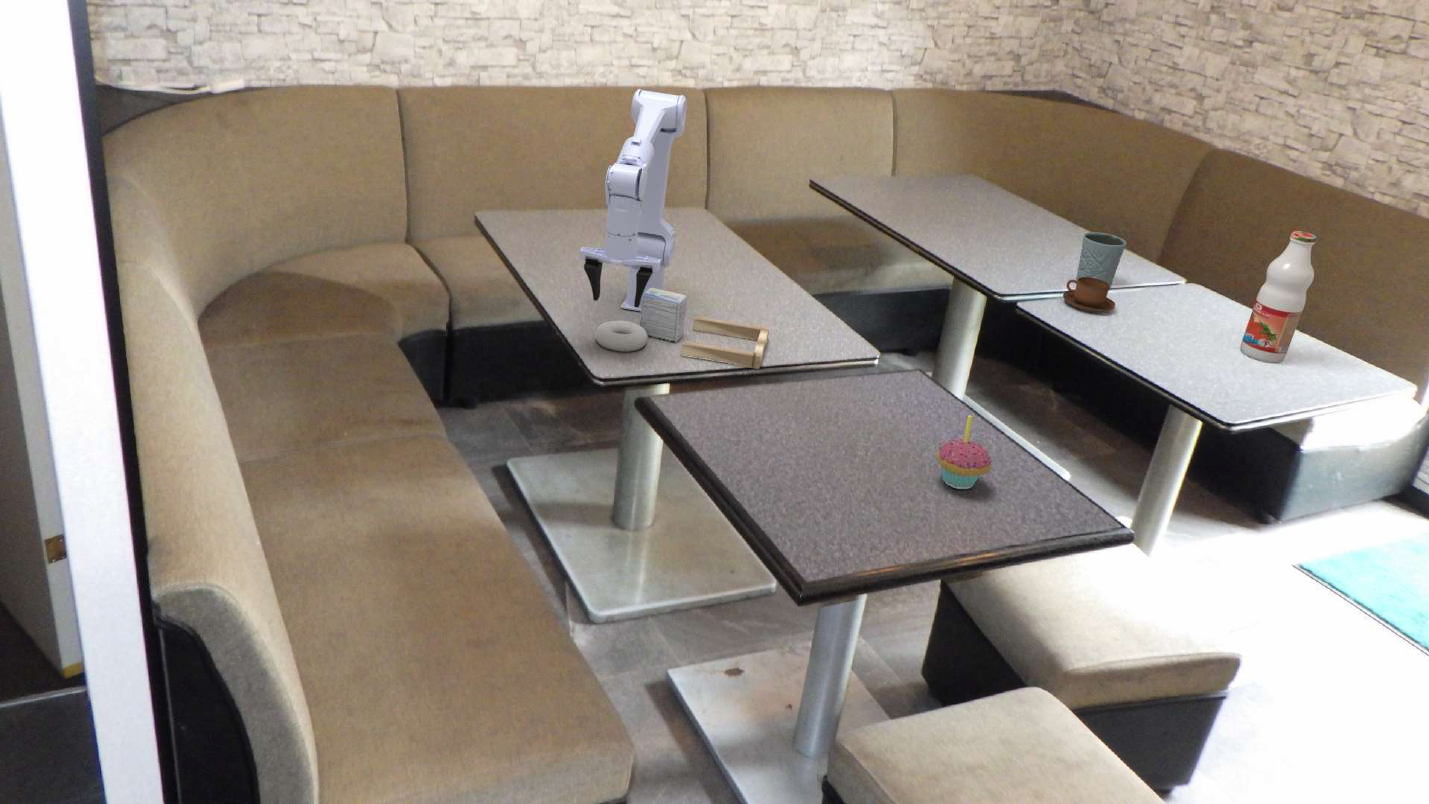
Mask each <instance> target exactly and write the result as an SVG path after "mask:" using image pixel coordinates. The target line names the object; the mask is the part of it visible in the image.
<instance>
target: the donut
mask: <svg viewBox="0 0 1429 804" xmlns="http://www.w3.org/2000/svg"><path fill="white" fill-rule="evenodd" d="M594 334H595V338H596V341H597V343H598V344H599V345H600V346H602V347H603V348H605V349H607V350H610V351H615V352H625V353H626V352H634V351H637V350H640V349H642V348H643V347H644V346H645V345H646V344H647V341H648V339H649V338H648V337H649V336H648V335H647V333H646V331H645V329H644V328H643V327H641V326H640V324H638V323H635V322H634V321H629V320H623V319H622V320H620V319H619V320H610V321H606V322H603V323H602V324H600V325H598V327H597V328H596V331H595V333H594Z"/></svg>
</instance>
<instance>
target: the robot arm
mask: <svg viewBox="0 0 1429 804" xmlns="http://www.w3.org/2000/svg"><path fill="white" fill-rule="evenodd" d="M631 101H632V102H631V109H630V111H631V112H630V114H631V119H632V121H633V123H634V124H635V129H634V133H633V136H631V137H629V138H627V139H626V140H625V141H624V144H623V145H622V148H621V150H620V153H619V154H618V158H617V159H616V162H614V164H613V165H611V164H610V165H609V166H608V169H607V171H606V175H605V182H604V183H605V185H604V186H605V188H604V190H605V204H606V206H607V215H606V216H607V217H606V231H605V244H604V248H601V247H598V248H597V247H587V246H582V247H581V248H580V249H579V261H583V262H584V264H583V269H584V271H585V274H586V276H587V278H588V281H589V283H590V286H591V291H592V300H593V301H594V302H597V301H599V299H600V296H601V280H602V279H601V278H602V271H603V263H604V264H609V265H614V266H620V267H621V266H622V267H628V278H627V279H628V281H627V291H626V298H625V299H624V301H623V302H622V303H621V305H620V308H621V309H623V310H628V311H629V310H631V311H636V312H641V304H642V294H643V293H644V292H646V291H647V290H648V289H650V288H656V289H660V290H664V286H665V284H664V283H665V275H666V268H668V267H670V265H672V262H673V259H674V253H675V245H676V242H675V236H676V235H675V234H676V232H675V229H674V228H673V226H671V225H670V223H668V221H667V220H665V218H664V214H665V213H664V212H665V204H666V203H665V202H666V194H667V186H668V177H669V169H670V163H671V162H670V159H671V152H672V146H673V144H674V140H675V138H678V137H679V138H680V137H683V135H684V132H685V126H686V120H687V111H688V101H687V98H686V97H685V95H683V94H681V95H677V94H676V95H675V94H669V93H665V92H664V93H663V92H655V91H650V90H644V89H641V88H639V89H637V90H636V91H635V92H634V94H633V97H632V100H631Z"/></svg>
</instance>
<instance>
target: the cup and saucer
mask: <svg viewBox="0 0 1429 804" xmlns="http://www.w3.org/2000/svg"><path fill="white" fill-rule="evenodd" d="M1071 283H1074V284H1075V289H1072V288H1071V287H1070V284H1071ZM1109 287H1110V285H1109V284H1108V283H1107V282H1105V281H1102V280H1100V279H1096V278H1091V277H1081V278H1078V281H1077V280H1076V279H1069V280H1068V281H1067V283H1066V289H1067V290H1066V291H1064V292H1063V295H1062V297H1063V299H1064V301H1065V302H1066V303H1067V304H1068V305H1071V306H1072V307H1074V308H1077V309H1078V310H1083V311H1085V312H1091V313H1106V312H1110V311H1111V310H1113V309H1114V308H1115V307H1116V303H1115V302H1114V301H1113V299H1111V298H1109V297H1108V293H1109V290H1110V289H1109ZM1110 288H1111V287H1110Z"/></svg>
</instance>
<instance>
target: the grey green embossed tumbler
mask: <svg viewBox="0 0 1429 804" xmlns="http://www.w3.org/2000/svg"><path fill="white" fill-rule="evenodd" d="M1126 245H1127V242H1126V240H1125V239H1123V238H1121V237H1120V236H1116V235H1114V234H1110V233H1104V232H1098V231H1097V232H1095V231H1094V232H1093V231H1090V232H1086V233H1084V234H1083V238H1082V245H1081V249H1080V251H1081V252H1080V255H1079V258H1080V259H1079V263H1078V266H1077V273H1076V276H1075V280H1077V281H1078V278H1081V277H1091V278H1096V279H1100V280H1102V281H1105V282H1107V283H1108V284H1109V285H1110V287H1109V290H1110V289H1111V287H1112V284H1113V279H1114V278H1115V275H1116V273H1117V270H1118V267H1119V264H1120V261H1121V257H1122V256H1123V253H1124V251H1125V248H1126Z"/></svg>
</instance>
